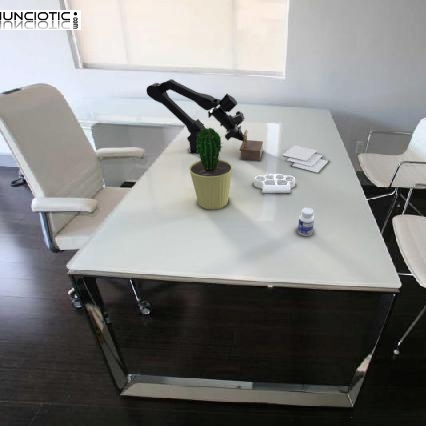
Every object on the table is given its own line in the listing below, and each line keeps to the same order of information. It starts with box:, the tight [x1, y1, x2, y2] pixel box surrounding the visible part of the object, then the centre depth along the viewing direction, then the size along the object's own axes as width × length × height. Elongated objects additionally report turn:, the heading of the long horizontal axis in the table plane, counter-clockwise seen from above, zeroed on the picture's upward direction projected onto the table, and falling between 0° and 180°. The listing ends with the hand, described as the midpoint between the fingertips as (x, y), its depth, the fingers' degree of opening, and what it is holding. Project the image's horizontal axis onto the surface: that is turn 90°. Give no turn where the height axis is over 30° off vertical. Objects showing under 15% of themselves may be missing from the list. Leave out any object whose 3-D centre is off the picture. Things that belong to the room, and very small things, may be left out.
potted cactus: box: [188, 125, 233, 210], centre depth 115 cm, size 15×15×30 cm
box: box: [240, 143, 264, 162], centre depth 164 cm, size 10×14×5 cm
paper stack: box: [282, 145, 329, 173], centre depth 165 cm, size 23×25×1 cm
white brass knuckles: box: [253, 173, 296, 194], centre depth 137 cm, size 3×18×15 cm
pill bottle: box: [297, 207, 315, 237], centre depth 109 cm, size 5×5×9 cm
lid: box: [238, 129, 264, 152], centre depth 160 cm, size 10×14×7 cm
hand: (245, 141), depth 161 cm, fingers closed
